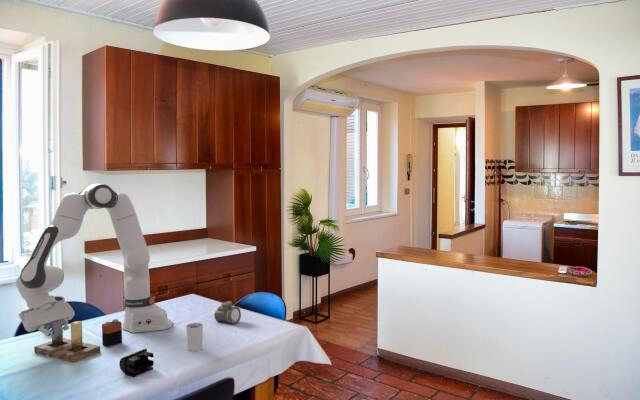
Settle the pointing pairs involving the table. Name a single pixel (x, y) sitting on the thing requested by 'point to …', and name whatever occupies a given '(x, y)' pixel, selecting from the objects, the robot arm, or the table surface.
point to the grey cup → (194, 336)
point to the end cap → (136, 363)
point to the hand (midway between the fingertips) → (58, 332)
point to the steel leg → (57, 333)
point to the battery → (112, 333)
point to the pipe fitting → (228, 313)
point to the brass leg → (76, 336)
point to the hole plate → (67, 351)
